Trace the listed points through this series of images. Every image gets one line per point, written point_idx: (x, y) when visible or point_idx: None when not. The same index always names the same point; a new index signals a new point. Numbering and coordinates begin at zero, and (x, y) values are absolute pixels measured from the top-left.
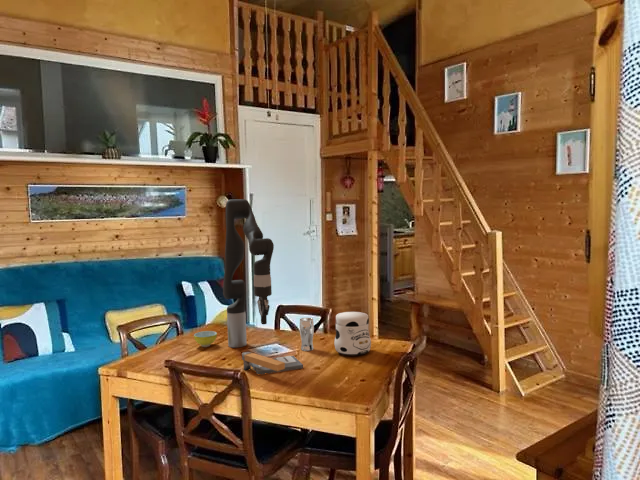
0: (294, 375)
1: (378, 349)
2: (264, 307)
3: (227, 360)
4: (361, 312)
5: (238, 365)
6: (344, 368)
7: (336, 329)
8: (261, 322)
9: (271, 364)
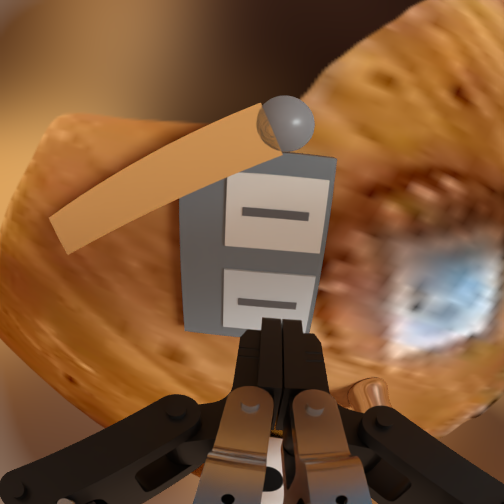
0: (129, 272)
1: None
2: (10, 478)
3: (438, 96)
4: None
5: (354, 107)
6: (148, 396)
7: (269, 491)
8: (275, 326)
9: (74, 200)
